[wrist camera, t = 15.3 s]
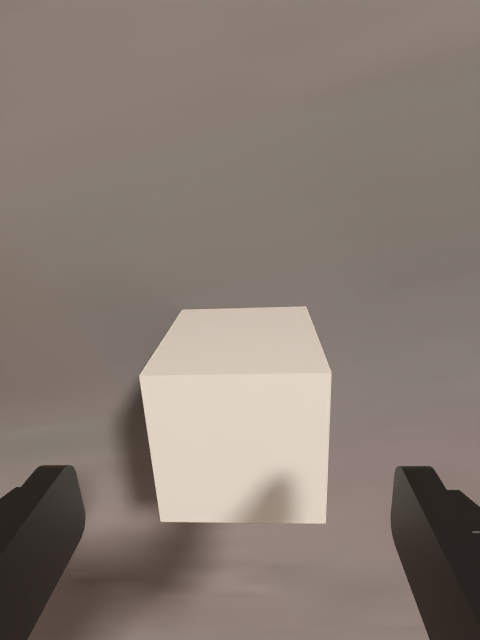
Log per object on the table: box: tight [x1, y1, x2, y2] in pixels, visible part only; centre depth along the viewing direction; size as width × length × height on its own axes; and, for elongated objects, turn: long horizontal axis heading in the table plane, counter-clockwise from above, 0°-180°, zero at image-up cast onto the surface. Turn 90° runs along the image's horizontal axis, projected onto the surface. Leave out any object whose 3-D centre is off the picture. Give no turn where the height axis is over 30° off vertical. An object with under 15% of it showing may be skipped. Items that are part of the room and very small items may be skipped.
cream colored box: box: [139, 306, 331, 523], centre depth 18 cm, size 7×7×8 cm
